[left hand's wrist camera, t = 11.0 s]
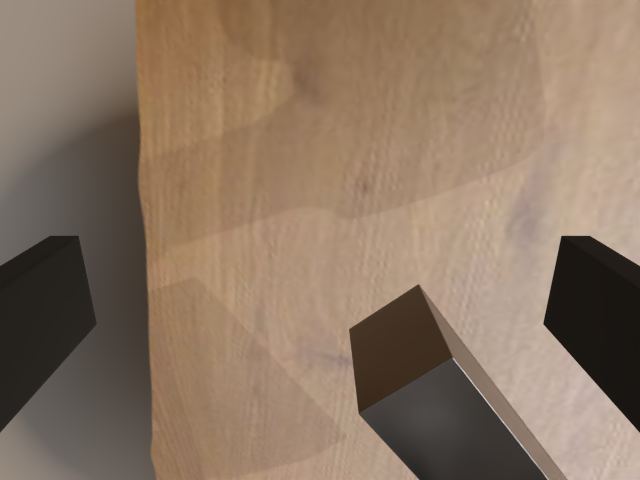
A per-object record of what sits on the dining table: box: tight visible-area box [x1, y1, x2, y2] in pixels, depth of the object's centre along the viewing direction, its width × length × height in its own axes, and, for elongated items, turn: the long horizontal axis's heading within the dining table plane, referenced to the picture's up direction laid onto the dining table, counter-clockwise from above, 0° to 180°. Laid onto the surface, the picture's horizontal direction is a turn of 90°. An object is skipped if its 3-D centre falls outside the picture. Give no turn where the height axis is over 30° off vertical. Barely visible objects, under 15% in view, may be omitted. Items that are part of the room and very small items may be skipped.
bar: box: [349, 284, 567, 480], centre depth 29 cm, size 26×6×8 cm, turn 37°
